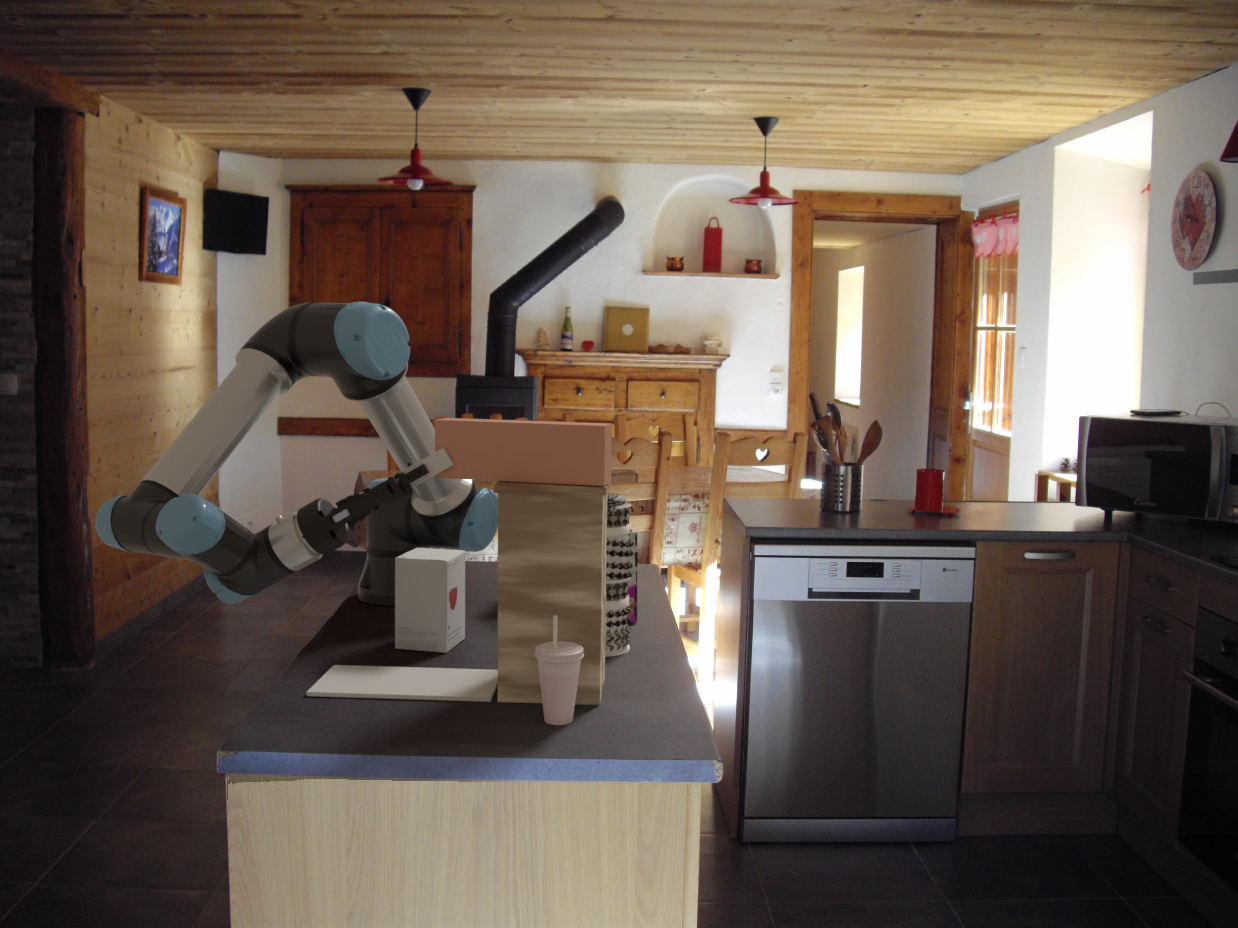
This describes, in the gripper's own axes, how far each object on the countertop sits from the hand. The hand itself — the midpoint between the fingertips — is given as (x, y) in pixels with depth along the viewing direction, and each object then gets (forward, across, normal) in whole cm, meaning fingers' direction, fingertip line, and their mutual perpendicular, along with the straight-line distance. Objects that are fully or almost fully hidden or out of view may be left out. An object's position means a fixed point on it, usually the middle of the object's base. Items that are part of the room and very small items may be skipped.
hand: (451, 454), depth 145 cm
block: (+7, -2, +8) cm, 11 cm away
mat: (-22, 0, +26) cm, 34 cm away
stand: (-4, 0, +36) cm, 36 cm away
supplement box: (-23, +20, +25) cm, 40 cm away
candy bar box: (0, +35, +39) cm, 52 cm away
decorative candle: (+1, +20, +39) cm, 44 cm away
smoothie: (-3, -12, +37) cm, 39 cm away
